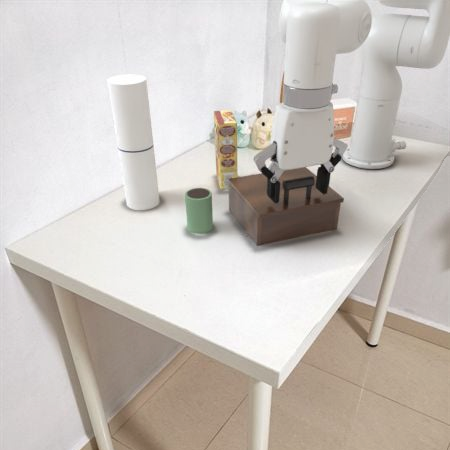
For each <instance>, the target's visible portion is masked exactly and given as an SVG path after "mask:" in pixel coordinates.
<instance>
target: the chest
mask: <svg viewBox="0 0 450 450" xmlns="http://www.w3.org/2000/svg"><path fill="white" fill-rule="evenodd" d="M341 205H342V203H337V204H332V205H327V206H322V207H316V208H311V209H306V210H301V211H296V212H291V213H286V214H281V215H276V216H270V217H265V218H259V217H258V216H257V215H256V214H255V213H254V211H253V210H252V209H251V208H250V207H249V206H248V204H247V203H246V202H245V201H244V200H243V199H242V197H241V196H240V195H239V194H238V193H237V192H236V190H235V189H234V188H233V187H232V186H231V185H230V183H229V189H228V211H229V212H230V214H231V215H232V216H233V218H234V219H235V220H236V221H237V222H238V224H239V225H240V226H241V228H242V229H243V230H244V232H245V233H246V235H248V237H249V238H250V239H251V240H252V242H253V243H254V244H255V246H256V247H258V246H263V245H267V244H273V243H277V242H283V241H286V240H292V239H297V238H302V237H305V236H311V235H315V234H319V233H325V232H329V231H335V230H337V229H338V223H339V217H340V210H341Z"/></svg>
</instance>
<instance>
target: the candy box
mask: <svg viewBox="0 0 450 450" xmlns="http://www.w3.org/2000/svg"><path fill="white" fill-rule="evenodd" d="M213 129H214V130H213V131H214V148H215V149H214V151H215V153H214V154H215V170H216V180H217V182H218V183H217V184H218V186H219V189H220V190H229V179H231V178H237V177H238V122H237V120H236V118H235V115H234V113H233V110H230V109H228V110H227V109H225V110H214V111H213Z"/></svg>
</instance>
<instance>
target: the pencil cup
mask: <svg viewBox="0 0 450 450" xmlns="http://www.w3.org/2000/svg"><path fill="white" fill-rule="evenodd" d="M184 198H185V199H184V200H185V201H184V202H185V213H186V228H187V231H188V232H190V233H193V234H197V235H199V234H200V235H201V234H206V233H209V232H211V231H212V230H213V228H214V219H213V193H212V191H211V190H210V189H208V188H205V187H193V188H190V189H188V190H186V191H185V193H184Z"/></svg>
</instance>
